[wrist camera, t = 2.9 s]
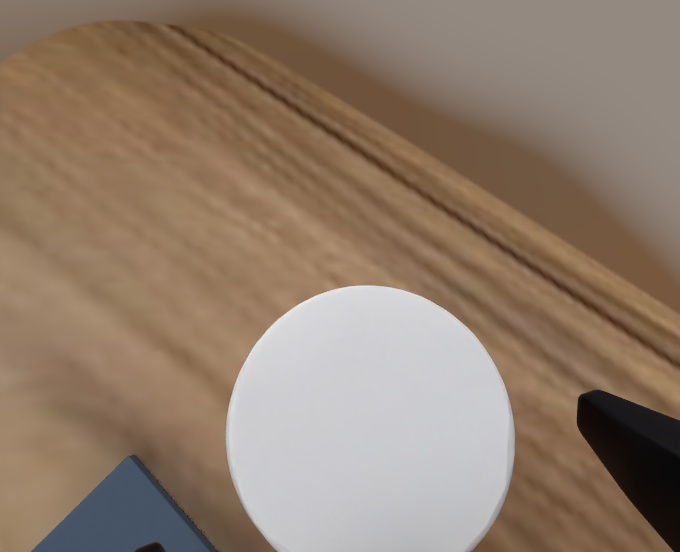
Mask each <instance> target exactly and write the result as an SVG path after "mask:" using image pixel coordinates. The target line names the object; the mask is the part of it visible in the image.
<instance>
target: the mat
mask: <svg viewBox="0 0 680 552" xmlns="http://www.w3.org/2000/svg"><path fill="white" fill-rule="evenodd" d="M153 542H158V543H160V544H161V545H162V546H163V548H164V549H165V551H166V552H217V551H216V549H215V548H214V547H213V546H212V545H211V544H210V542H209V541H208V540H207V539H206V538H205V537H204V535H203V534H202V533H201V532H200V531H199V530H198V528H197V527H196V526H195V525H194V524H193V523H192V521H191V520H190V519H189V518H188V517H187V516H186V514H185V513H184V512H183V511H182V510H181V509H180V507H179V506H178V505H177V504H176V503H175V502H174V500H173V499H172V498H171V497H170V496H169V495H168V493H167V492H166V491H165V490H164V489H163V488H162V486H161V485H160V484H159V483H158V482H157V481H156V479H155V478H154V477H153V476H152V475H151V474H150V472H149V471H148V470H147V469H146V468H145V467H144V465H143V464H142V463H141V462H140V461H139V460H138V458H137V457H136V456H135V455H132V456H128V457H126V458H125V459H124V460H123V461H122V462H121V463H120V464H119V465H118V466H117V467H116V468H115V469H114V470H113V471H112V472H111V473H110V474H109V475H108V476H107V477H106V478H105V479H104V480H103V481H102V482H101V483H100V484H99V485H98V486H97V487H96V488H95V489H94V490H93V491H92V492H91V493H90V494H89V495H88V496H87V497H86V498H85V499H84V500H83V501H82V502H81V503H80V504H79V505H78V506H77V507H76V508H75V509H74V510H73V511H72V512H71V513H70V514H69V515H68V516H67V517H66V518H65V519H64V520H63V521H62V522H61V523H60V524H59V525H58V526H57V527H56V528H55V529H54V530H53V531H52V532H51V533H50V534H49V535H48V536H47V537H46V538H45V539H43V540H42V541H41V542H40V543H39V544H38V545H37V546H36V547H35V548H34V549H33V550H32V551H31V552H134V551H135V550H136V549H138V548H139V547H142V546H145V545H148V544H151V543H153Z"/></svg>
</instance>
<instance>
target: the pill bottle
mask: <svg viewBox="0 0 680 552" xmlns="http://www.w3.org/2000/svg"><path fill="white" fill-rule="evenodd" d="M226 450H227V457H228V464H229V470H230V474H231V477H232V481H233V484H234V487H235V489H236V492H237V494H238V496H239V499H240V501H241V503H242V505H243V507H244V509H245V511H246V513H247V514H248V516H249V517H250V519H251V521H252V522H253V523H254V525H255V526H256V527H257V529H258V530H259V531H260V532H261V534H262V535H263V536H264V538H265V539H266V540H267V541H268V542H269V543H270V544H271V546H272V547H273V548H274V549H275V550H276V551H277V552H471V551H472V550H473V549H474V548H475V547H476V546H477V545H478V544H479V543H480V541H481V540H482V539H483V538H484V537H485V536H486V534H487V533H488V531H489V529H490V528H491V526H492V525H493V523H494V522H495V520H496V518H497V517H498V514H499V512H500V510H501V508H502V506H503V504H504V501H505V498H506V495H507V492H508V489H509V486H510V481H511V477H512V472H513V466H514V458H515V428H514V422H513V416H512V410H511V405H510V400H509V397H508V394H507V391H506V388H505V385H504V382H503V380H502V378H501V376H500V374H499V371H498V369H497V367H496V366H495V364H494V362H493V360H492V359H491V357H490V356H489V354H488V353H487V351H486V350H485V348H484V346H483V345H482V344H481V343H480V341H479V340H478V339H477V337H476V336H475V335H474V334H473V333H472V332H471V331H470V330H469V329H468V328H467V327H466V326H465V325H464V324H463V323H461V322H460V321H459V320H458V319H457V318H456V317H454V316H453V315H452V314H451V313H449V312H448V311H446V310H445V309H444V308H442V307H440V306H438V305H436V304H435V303H433V302H432V301H429V300H427V299H425V298H423V297H421V296H418V295H416V294H413V293H410V292H407V291H403V290H400V289H395V288H390V287H382V286H352V287H345V288H340V289H335V290H332V291H328V292H325V293H322V294H319V295H317V296H315V297H313V298H311V299H309V300H306V301H304V302H302V303H300V304H299V305H297V306H296V307H294V308H293V309H291V310H290V311H288V312H287V313H286V314H285V315H283V316H282V317H281V318H279V319H278V320H277V321H276V322H275V323H274V324H273V325H272V326H271V327H270V328H269V329H268V330H267V331H266V332H265V334H264V335H263V336H262V337H261V338H260V340H259V341H258V342H257V343H256V345H255V346H254V348H253V349H252V351H251V352H250V354H249V356H248V358H247V360H246V361H245V363H244V365H243V367H242V369H241V371H240V373H239V375H238V378H237V380H236V383H235V386H234V389H233V393H232V397H231V400H230V404H229V409H228V414H227V424H226Z"/></svg>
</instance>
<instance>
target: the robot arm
mask: <svg viewBox="0 0 680 552" xmlns="http://www.w3.org/2000/svg"><path fill="white" fill-rule="evenodd" d="M577 426H578V429H579V431H580V432H581V434H582V435H583V437H584V438H585V440H586V441H587V442H588V444H589V445H590V447H591V448H592V449H593V451H594V452H595V453H596V455H597V456H598V458H599V459H600V460H601V462H602V463H603V465H604V466H605V467H606V469H607V470H608V472H609V473H610V474H611V476H612V477H613V478H614V480H615V481H616V483H617V484H618V485H619V487H620V488H621V489H622V491H623V492H624V493H625V495H626V496H627V497H628V499H629V500H630V501H631V502H632V503H633V505H634V506H635V507H636V508H637V509H638V511H639V512H640V513H641V514H642V515H643V516H644V518H645V519H646V520H647V521H648V522H649V523H650V524H651V526H652V527H653V528H654V529H655V530H656V531H657V533H658V534H659V535H660V536H661V537H662V538H663V539H664V541H665V542H666V543H667V544H668V545H669V546H670V548H671V549H672V550H673V551H674V552H680V421H679V420H677V419H674V418H672V417H669V416H666V415H664V414H661V413H659V412H656V411H653V410H651V409H648V408H646V407H643V406H641V405H638V404H635V403H633V402H630V401H628V400H625V399H623V398H620V397H617V396H615V395H612V394H610V393H607V392H604V391H602V390H592V391H589V392H587V393H584V394H581V395H580V396H579V398H578V408H577ZM134 552H166V551H165V549H164V548H163V546H162V545H161V544H160V543H158V542H153V543H151V544H148V545H145V546H142V547H139V548H138V549H136V550H135V551H134Z"/></svg>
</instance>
